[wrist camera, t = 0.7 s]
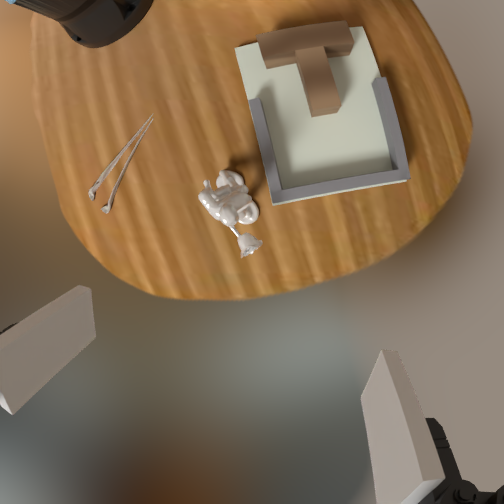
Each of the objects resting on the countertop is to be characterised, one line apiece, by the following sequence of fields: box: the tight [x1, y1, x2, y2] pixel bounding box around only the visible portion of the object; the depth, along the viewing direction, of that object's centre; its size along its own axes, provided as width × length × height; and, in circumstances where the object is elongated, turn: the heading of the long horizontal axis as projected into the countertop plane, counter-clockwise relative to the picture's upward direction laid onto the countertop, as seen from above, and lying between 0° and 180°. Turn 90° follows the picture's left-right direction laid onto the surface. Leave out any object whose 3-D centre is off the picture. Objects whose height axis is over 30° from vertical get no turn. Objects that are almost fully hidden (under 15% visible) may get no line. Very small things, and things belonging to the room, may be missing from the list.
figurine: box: [198, 170, 263, 258], centre depth 30 cm, size 5×9×12 cm, turn 41°
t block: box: [256, 20, 355, 117], centre depth 28 cm, size 10×10×4 cm
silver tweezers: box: [89, 113, 154, 213], centre depth 36 cm, size 17×5×2 cm, turn 141°
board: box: [235, 27, 410, 206], centre depth 30 cm, size 20×16×3 cm
